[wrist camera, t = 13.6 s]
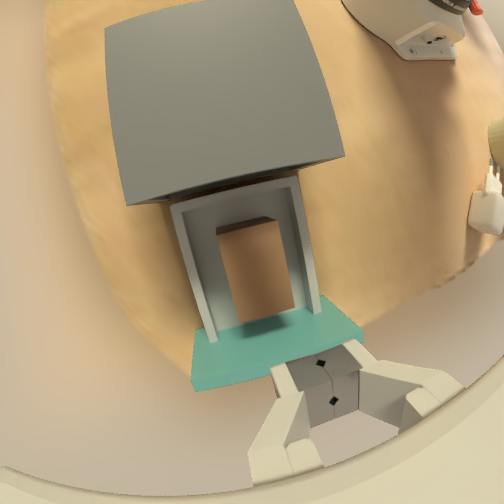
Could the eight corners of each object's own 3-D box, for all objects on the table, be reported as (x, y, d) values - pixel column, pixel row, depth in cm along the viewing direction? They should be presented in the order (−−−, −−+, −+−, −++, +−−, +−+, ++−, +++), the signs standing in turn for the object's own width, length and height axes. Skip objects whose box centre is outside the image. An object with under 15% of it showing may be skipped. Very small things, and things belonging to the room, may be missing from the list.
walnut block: (264, 215, 24) (277, 220, 19) (280, 287, 26) (295, 307, 21) (215, 227, 24) (216, 235, 19) (234, 300, 25) (239, 323, 21)
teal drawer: (301, 175, 26) (342, 166, 17) (324, 304, 29) (363, 342, 20) (159, 209, 24) (132, 214, 16) (198, 339, 27) (195, 391, 19)
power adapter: (473, 156, 29) (500, 155, 23) (486, 169, 30) (512, 169, 24) (463, 223, 31) (492, 228, 25) (477, 232, 32) (503, 238, 26)
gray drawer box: (266, 50, 23) (290, -5, 13) (298, 170, 26) (345, 156, 16) (135, 77, 22) (104, 28, 12) (158, 202, 25) (126, 205, 15)
